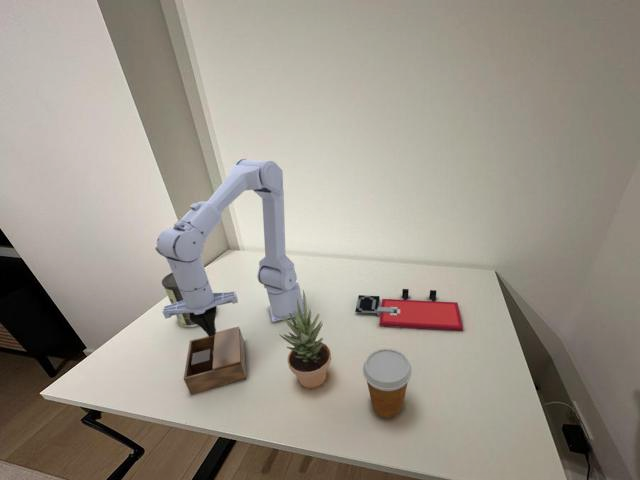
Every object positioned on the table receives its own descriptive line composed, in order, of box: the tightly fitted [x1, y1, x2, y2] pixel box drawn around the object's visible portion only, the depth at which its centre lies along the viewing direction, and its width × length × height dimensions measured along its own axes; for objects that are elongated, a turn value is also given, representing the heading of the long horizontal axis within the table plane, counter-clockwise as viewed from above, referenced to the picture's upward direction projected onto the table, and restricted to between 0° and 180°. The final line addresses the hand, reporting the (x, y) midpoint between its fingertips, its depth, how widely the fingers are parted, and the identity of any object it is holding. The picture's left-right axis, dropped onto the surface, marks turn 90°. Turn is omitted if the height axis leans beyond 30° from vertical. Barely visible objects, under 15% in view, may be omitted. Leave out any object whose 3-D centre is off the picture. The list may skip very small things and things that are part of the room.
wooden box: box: [183, 328, 247, 395], centre depth 77 cm, size 12×13×5 cm
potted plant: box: [279, 289, 332, 389], centre depth 68 cm, size 10×10×25 cm
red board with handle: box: [354, 288, 464, 332], centre depth 93 cm, size 30×3×15 cm
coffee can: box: [161, 272, 200, 328], centre depth 92 cm, size 10×10×14 cm
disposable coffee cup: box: [362, 348, 413, 419], centre depth 64 cm, size 10×10×12 cm
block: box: [191, 349, 213, 375], centre depth 76 cm, size 4×4×4 cm
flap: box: [212, 325, 240, 370], centre depth 76 cm, size 6×13×1 cm, turn 20°
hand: (212, 333), depth 73 cm, fingers closed
